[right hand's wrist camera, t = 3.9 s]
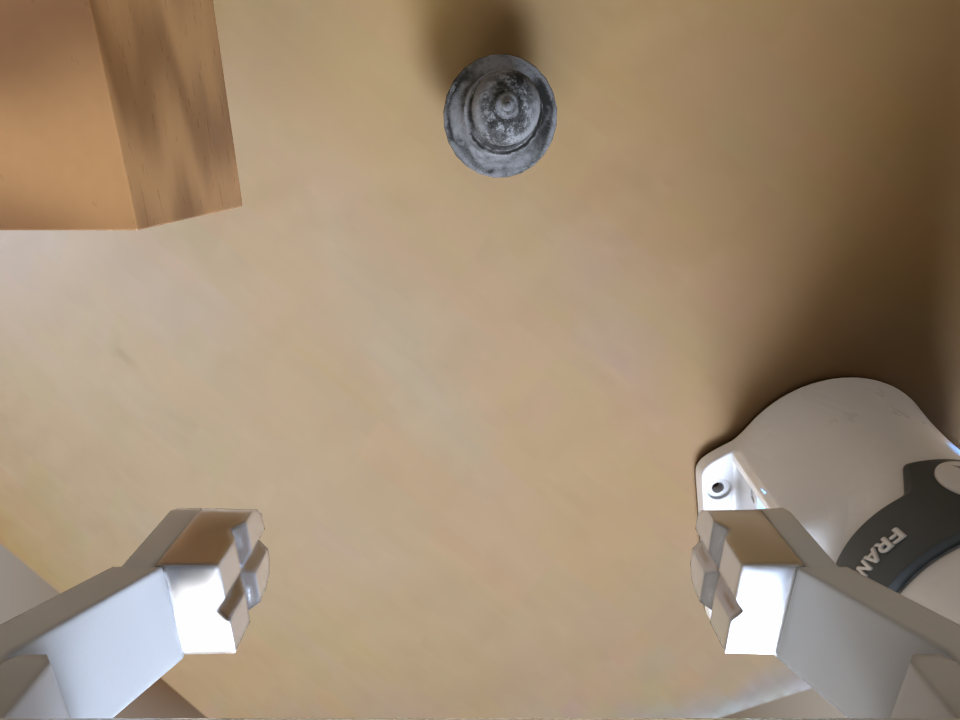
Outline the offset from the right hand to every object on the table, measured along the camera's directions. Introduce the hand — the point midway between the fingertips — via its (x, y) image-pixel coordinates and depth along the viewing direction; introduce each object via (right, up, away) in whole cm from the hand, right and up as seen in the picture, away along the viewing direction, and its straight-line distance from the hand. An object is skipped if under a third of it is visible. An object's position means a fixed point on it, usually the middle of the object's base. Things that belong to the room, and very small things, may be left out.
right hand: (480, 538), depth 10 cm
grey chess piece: (+1, +17, +22) cm, 28 cm away
